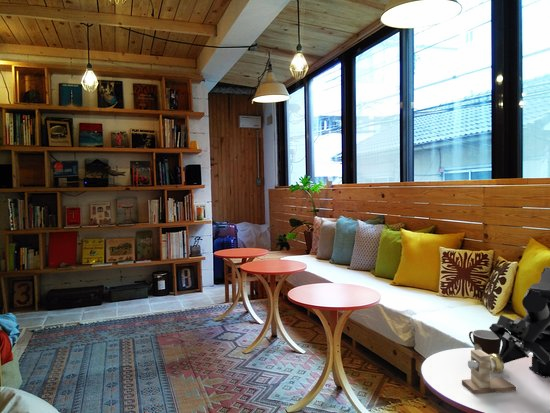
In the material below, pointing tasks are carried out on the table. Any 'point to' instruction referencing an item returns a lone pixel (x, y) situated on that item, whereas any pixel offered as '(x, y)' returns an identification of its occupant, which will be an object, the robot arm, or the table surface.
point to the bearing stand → (485, 377)
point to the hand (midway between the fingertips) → (498, 363)
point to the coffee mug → (486, 341)
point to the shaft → (495, 364)
